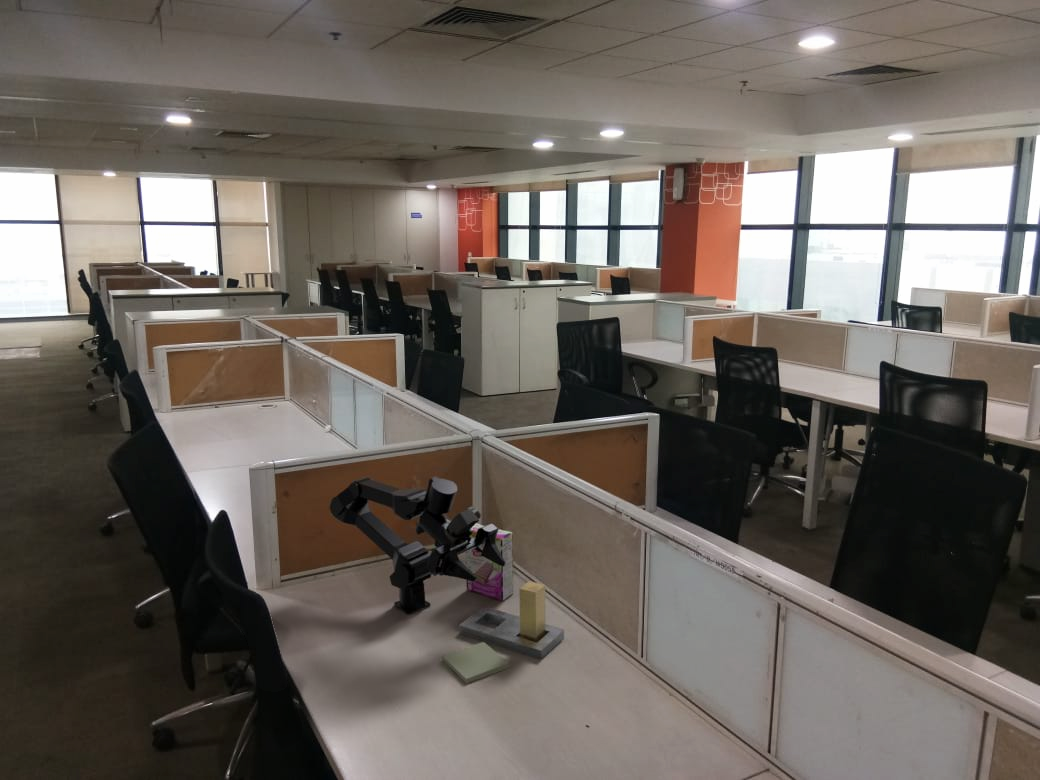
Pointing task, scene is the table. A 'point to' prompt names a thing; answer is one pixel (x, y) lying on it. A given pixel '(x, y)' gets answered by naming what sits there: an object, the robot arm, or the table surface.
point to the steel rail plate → (509, 632)
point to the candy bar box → (492, 568)
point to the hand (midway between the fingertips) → (490, 572)
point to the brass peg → (532, 611)
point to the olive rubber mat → (475, 662)
